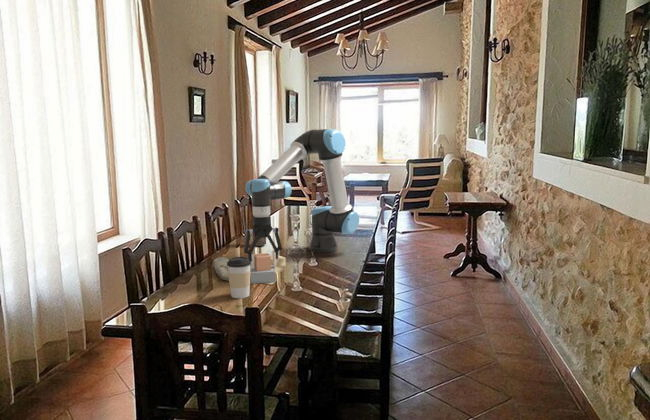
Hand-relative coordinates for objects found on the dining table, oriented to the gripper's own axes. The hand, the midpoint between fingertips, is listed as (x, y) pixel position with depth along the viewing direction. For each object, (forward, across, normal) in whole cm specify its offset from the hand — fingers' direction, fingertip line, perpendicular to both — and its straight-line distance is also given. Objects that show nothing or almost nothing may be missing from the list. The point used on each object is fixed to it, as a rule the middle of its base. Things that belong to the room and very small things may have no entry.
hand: (263, 267), depth 210 cm
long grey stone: (+6, -14, +19) cm, 24 cm away
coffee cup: (+5, -13, -18) cm, 23 cm away
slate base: (+5, -1, -1) cm, 5 cm away
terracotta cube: (0, 0, 0) cm, 1 cm away
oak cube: (+5, +8, +11) cm, 15 cm away
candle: (+5, +10, +62) cm, 63 cm away
